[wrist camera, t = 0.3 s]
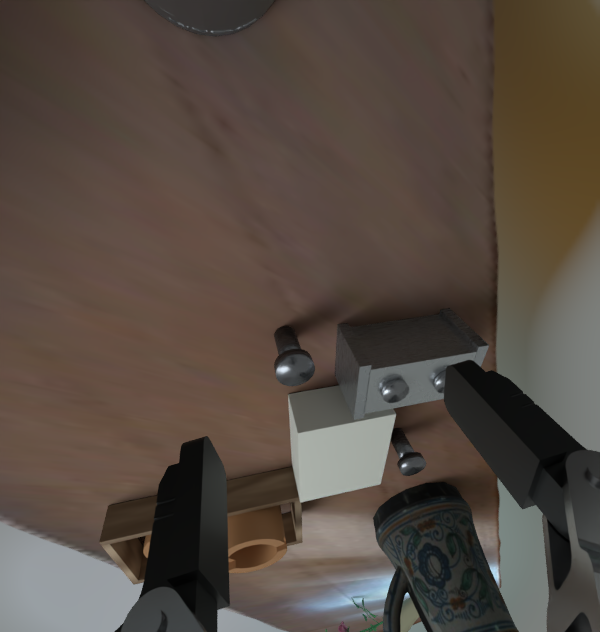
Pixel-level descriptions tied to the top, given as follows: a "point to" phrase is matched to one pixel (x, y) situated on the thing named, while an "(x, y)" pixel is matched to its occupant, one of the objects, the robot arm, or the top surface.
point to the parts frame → (241, 497)
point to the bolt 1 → (291, 359)
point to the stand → (335, 444)
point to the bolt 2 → (406, 454)
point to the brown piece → (252, 540)
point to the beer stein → (438, 563)
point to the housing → (401, 360)
